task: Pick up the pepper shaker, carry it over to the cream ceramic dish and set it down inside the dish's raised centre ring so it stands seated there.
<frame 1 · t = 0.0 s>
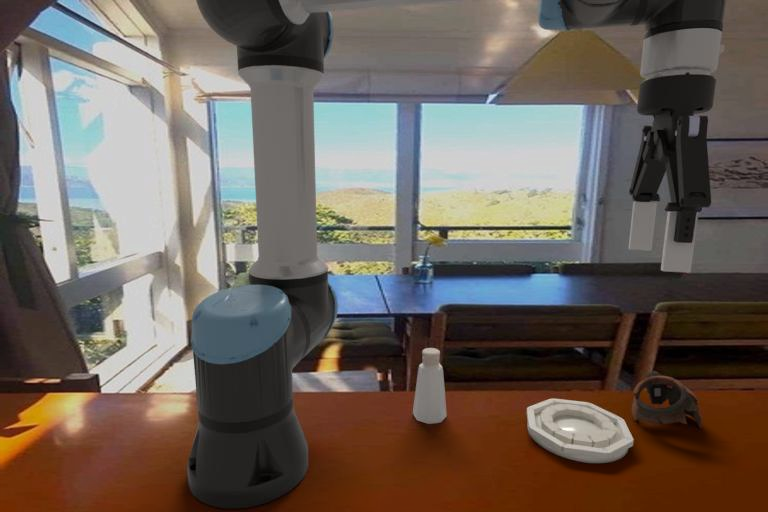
hand: (655, 259, 58), 28 cm above the counter, tool pointing down, fingers open, 13 cm apart
dish: (576, 433, 70), on the counter
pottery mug: (662, 420, 75), on the counter
pepper shaker: (429, 416, 75), on the counter
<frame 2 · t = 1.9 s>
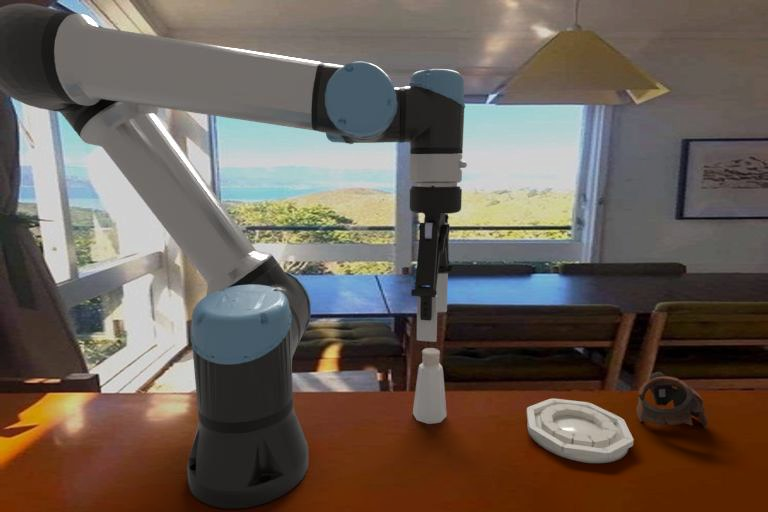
hand: (433, 324, 72), 15 cm above the counter, tool pointing down, fingers open, 13 cm apart
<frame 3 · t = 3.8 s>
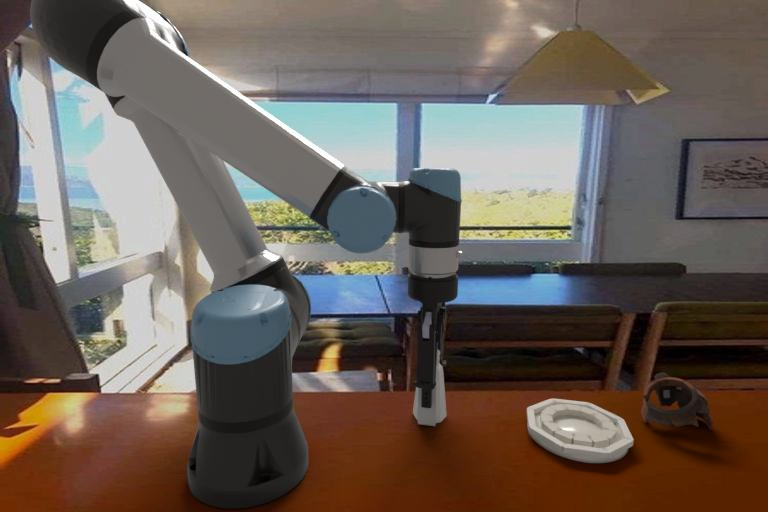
hand: (429, 413, 75), 0 cm above the counter, tool pointing down, fingers closed on pepper shaker, 5 cm apart
pepper shaker: (429, 416, 75), on the counter, touching gripper
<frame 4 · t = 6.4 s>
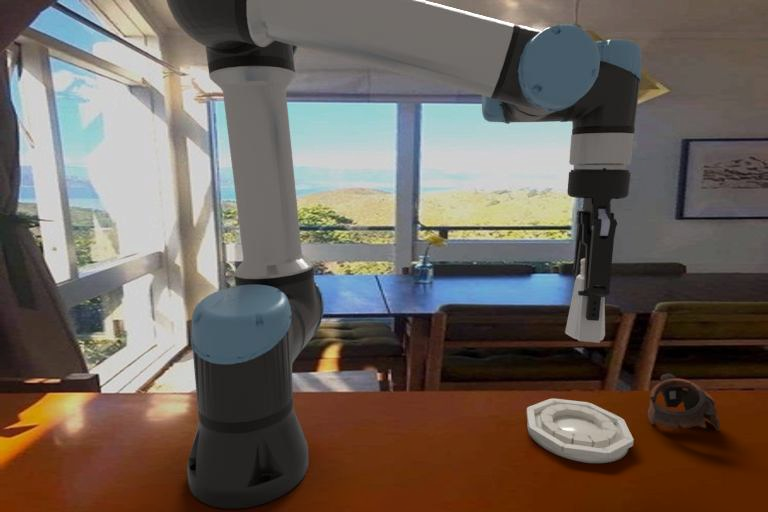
hand: (584, 332, 67), 16 cm above the counter, tool pointing down, fingers closed on pepper shaker, 5 cm apart
pepper shaker: (584, 336, 67), point 15 cm above the counter, touching gripper
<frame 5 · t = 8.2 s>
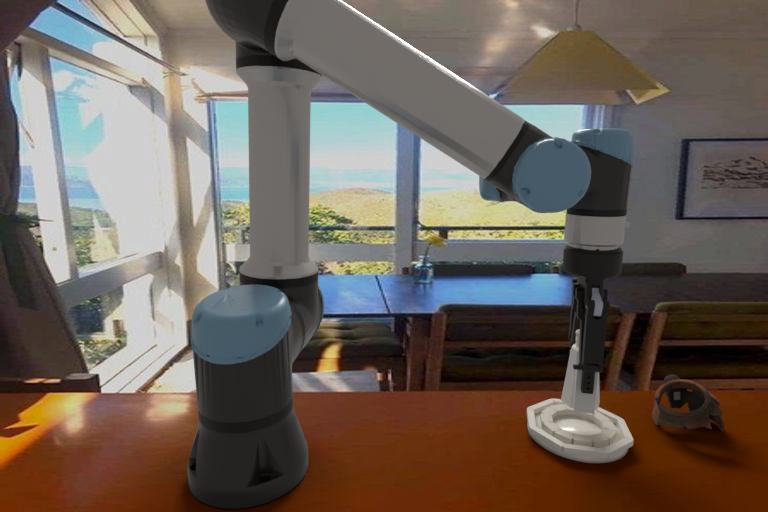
hand: (579, 400, 69), 5 cm above the counter, tool pointing down, fingers closed on pepper shaker, 5 cm apart
pepper shaker: (579, 403, 69), point 5 cm above the counter, touching gripper
when the fingers open (3 cm above the counter, at t = 9.1 s): pepper shaker drops 1 cm, resting on dish.
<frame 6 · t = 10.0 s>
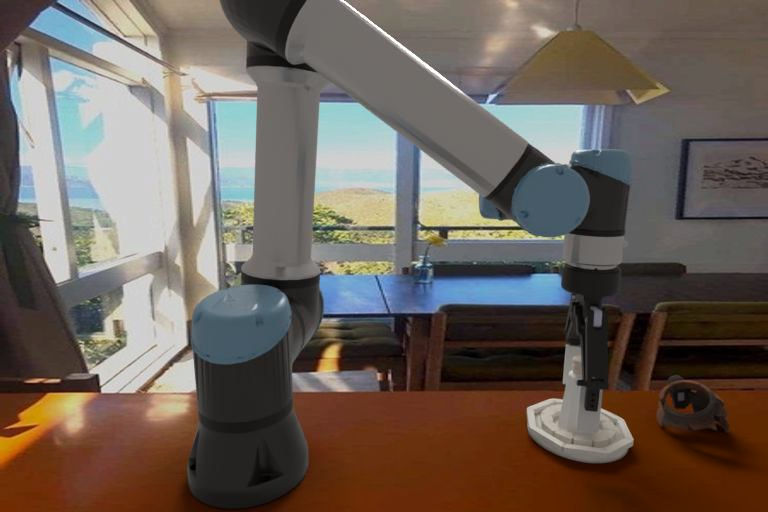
hand: (578, 404, 69), 5 cm above the counter, tool pointing down, fingers open, 13 cm apart
pepper shaker: (576, 429, 70), point 1 cm above the counter, touching dish
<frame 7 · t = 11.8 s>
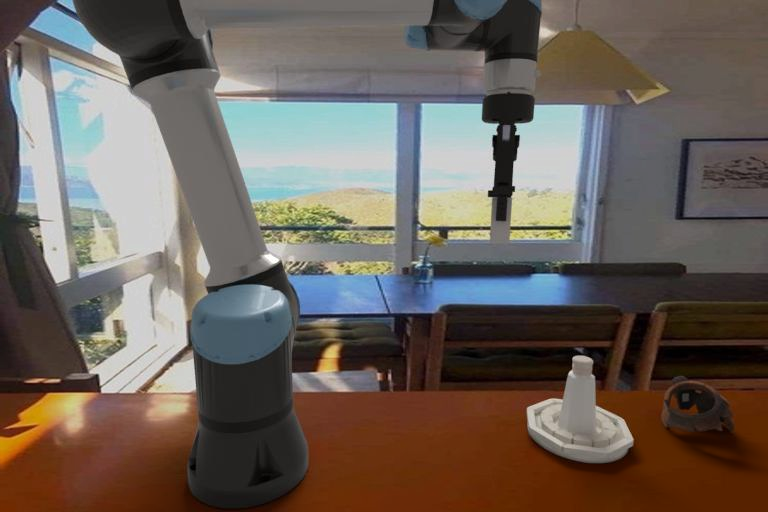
hand: (500, 236, 74), 28 cm above the counter, tool pointing down, fingers open, 13 cm apart
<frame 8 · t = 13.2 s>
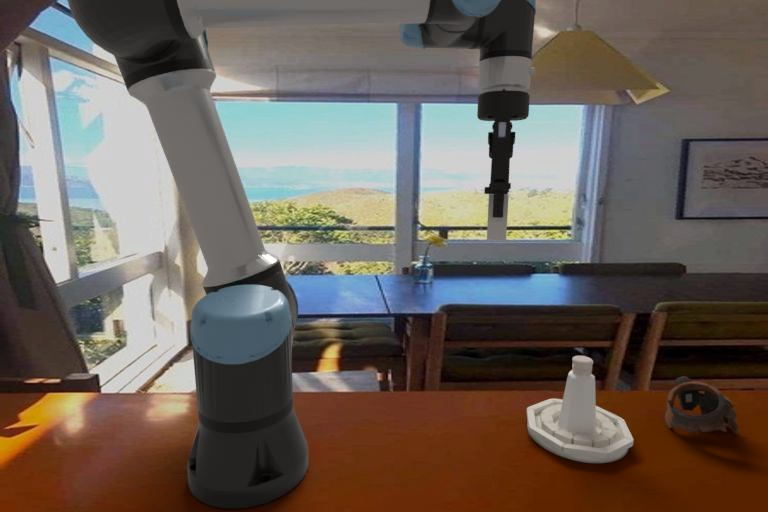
hand: (496, 233, 74), 29 cm above the counter, tool pointing down, fingers open, 13 cm apart
at the end: pepper shaker 0.1 cm from the dish (horizontally); pepper shaker tilted 0°; pepper shaker touching dish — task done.
